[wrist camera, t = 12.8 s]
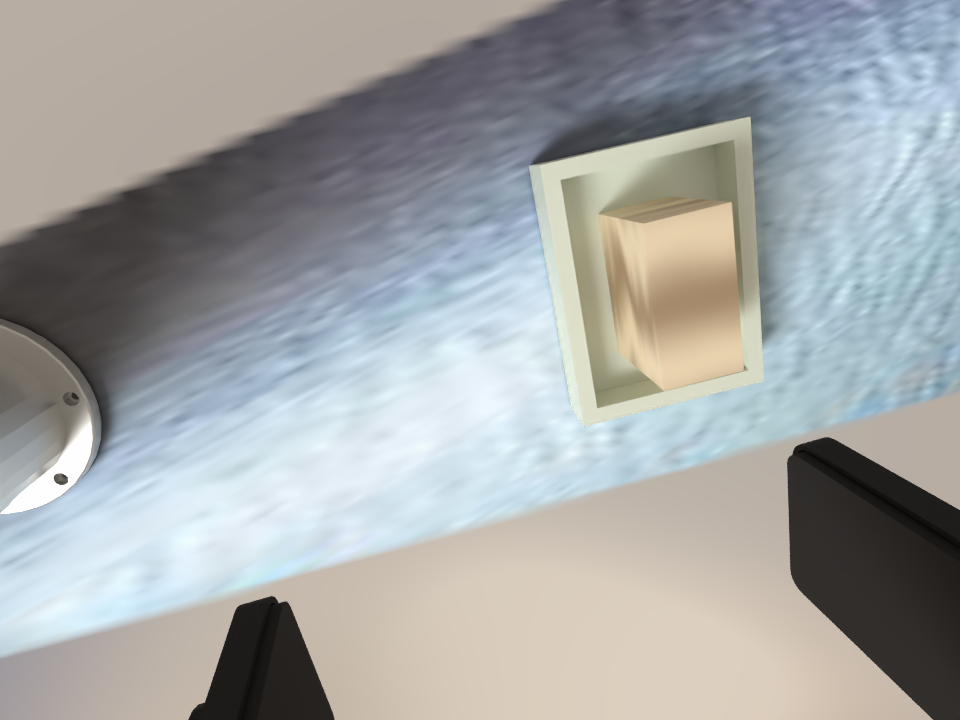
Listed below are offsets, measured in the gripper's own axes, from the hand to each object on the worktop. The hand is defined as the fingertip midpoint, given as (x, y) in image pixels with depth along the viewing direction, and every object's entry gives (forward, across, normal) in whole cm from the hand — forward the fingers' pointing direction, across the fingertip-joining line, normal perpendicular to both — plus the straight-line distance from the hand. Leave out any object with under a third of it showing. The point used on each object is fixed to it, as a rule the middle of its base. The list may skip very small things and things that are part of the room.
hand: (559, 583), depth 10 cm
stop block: (+25, -13, +2) cm, 29 cm away
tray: (+26, -14, +2) cm, 29 cm away
